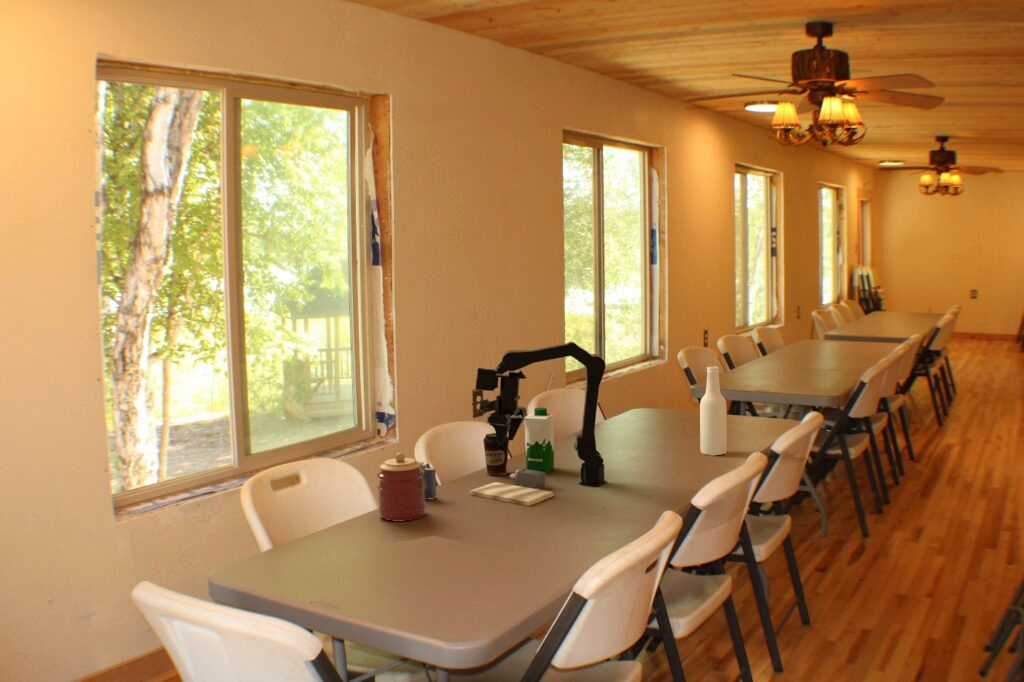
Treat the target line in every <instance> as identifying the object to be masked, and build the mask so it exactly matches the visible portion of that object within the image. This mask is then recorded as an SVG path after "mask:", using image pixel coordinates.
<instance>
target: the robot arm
mask: <svg viewBox="0 0 1024 682" xmlns="http://www.w3.org/2000/svg"><path fill="white" fill-rule="evenodd" d="M565 357H566V358H568V357H572V358H573V359H575V360H576V361H578V362H579V363H580V364H581V365H584V376H585V385H586V386H585V393H584V404H583V414H582V422H581V423H582V424H581V429H580V432H579V433H574V437H575V440H574V444H573V447H574V449H575V452H576V454H577V456H578V458H579V459H580V460H581V461H583V462H581V467H580V482H578V484H579V485H581V486H582V485H583V486H588V487H589V486H590V487H593V488H594V487H595V488H596V487H599V486H602V485H605V484H607V483H608V480H605V463H604V461H605V460H604V458H603V456H602V454H601V453H600V452H599V451H598V450H597V442H596V433H595V432H596V431H595V429H596V428H595V427H596V421H597V409H598V399H599V392H600V391H599V390H600V386H601V382H602V379H604V378H603V376H604V373H605V371H606V370H605V369H606V362H605V360H604V359H603V358H602V357H601V356H600V355H598V354H597V353H592V354H591V353H590V352H588V351H587V350H585V349H584V348H582V347H581V346H579V345H578V344H577V343H576V342H573V341H568V342H565V343H562V344H557V345H551V346H546V347H540V348H535V349H529V350H528V349H526V350H525V349H510V350H507V351H505V352H504V353H503V355H502V358H501V362H499V364H498V365H496V367H495V369H493V368H485V367H477V373H476V375H477V376H476V380H475V391H481V392H482V391H486V392H495V390H496V389H498V388H499V394H497V395H496V397H495V399H493V400H489V399H488V398H486V399H483V400H481V401H480V404H479V408H478V409H479V410H480V411H481V413H482V415H483V414H487V413H489V412H492V413H490V414H489V415H487V423H488V424H489V426H491V427H492V428H493V429H494V433H496V436H497V441H498V445H499V446H502V445H503V443H504V440H505V438H506V435H507V436H508V437H509V441H513V440H514V438H515V436H516V435H517V433H518V431H519V429H520V428H521V425H522V424H523V423H524V419H525V417H526V416H527V412H528V410H527V409H526V407H524V406H519V400H521V395H519V391H520V380H521V379H522V380H525V379H527V376H526V374H524V372H523V371H522V369H523V368H525V367H528V366H529V365H533V364H535V363H536V364H537V363H540V362H546V361H551V360H555V359H560V358H561V359H562V358H565ZM516 371H518V372H516ZM507 372H508V373H507ZM506 373H507V374H506ZM499 378H500V385H499ZM493 411H494V412H493ZM606 482H607V483H606ZM604 483H605V484H604Z"/></svg>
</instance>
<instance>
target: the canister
mask: <svg viewBox="0 0 1024 682" xmlns="http://www.w3.org/2000/svg"><path fill="white" fill-rule="evenodd" d="M420 466H421V462H420V461H418V460H416V459H414V458H412V457H406V456H405V454H404V453H403V452H397V453H396V454H395V456H394V458H390V459H387V460H385V461H384V462H383V463H382V464H380V465H379V469H380V471H379V472H378V473H377V475H376V477H377V479H378V482H379V483H378V485H377V490H378V514H379V517H380V516H381V517H382V518H384V519H389V520H409V521H411V520H410V519H414V520H418V519H421V518H422V517H424V516H426V515H425V514H426V510H427V508H426V507H427V505H426V499H425V491H424V486H425V483H424V482H423V475H424V471H423V470H422V469H420ZM423 515H424V516H423ZM381 517H380V518H381ZM420 517H421V518H420ZM382 518H381V519H382ZM417 518H418V519H417ZM384 519H383V520H384Z"/></svg>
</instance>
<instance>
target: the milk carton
mask: <svg viewBox="0 0 1024 682" xmlns="http://www.w3.org/2000/svg"><path fill="white" fill-rule="evenodd" d="M524 418H525V419H524V420H523V423H524V436H525V438H524V439H525V442H524V443H525V469H528V470H534V471H540V472H545V474H548V473H549V472H551V471H552V470H553V469H554V468H555V467H554V466H555V464H554V463H555V442H554V441H555V440H554V439H555V436H554V435H555V433H554V413H553V414H550V413H548V409H547V408H546V407H536V408H534V413H530V414H528V415H526V416H525V417H524ZM547 472H548V473H547Z"/></svg>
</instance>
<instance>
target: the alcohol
mask: <svg viewBox="0 0 1024 682" xmlns="http://www.w3.org/2000/svg"><path fill="white" fill-rule="evenodd" d="M706 369H707V370H706V373H707V374H706V387H705V393H704V395H703V396H702V397H701V399H700V403H699V421H700V422H699V425H700V426H699V427H700V428H699V429H700V430H699V436H700V437H699V441H700V442H699V443H700V444H699V446H700V451H699V452H700V453H701V454H702V453H703V454H709V455H720V454H725V455H726V453H727V448H728V447H727V446H728V445H727V433H728V432H727V428H728V427H727V401H726V398H725V397H724V396H723V395H722V393H721V388H720V387H721V384H720V377H719V376H720V375H719V372H720V370H719V369H720V367H718V366H715V365H714V366H713V365H712V366H707V367H706ZM703 454H702V455H703Z"/></svg>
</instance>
